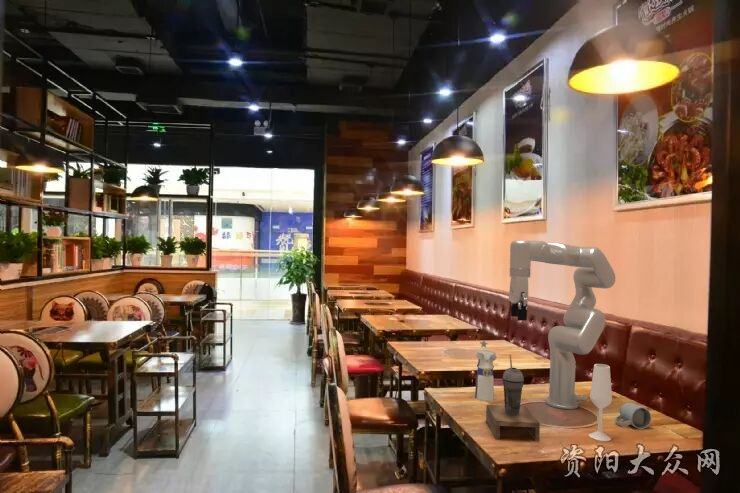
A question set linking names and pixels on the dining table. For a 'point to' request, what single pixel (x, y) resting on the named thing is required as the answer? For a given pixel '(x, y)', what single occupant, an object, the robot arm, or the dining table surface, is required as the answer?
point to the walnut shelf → (511, 420)
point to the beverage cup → (512, 389)
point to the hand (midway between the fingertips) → (518, 318)
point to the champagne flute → (601, 396)
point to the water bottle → (485, 374)
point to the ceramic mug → (634, 416)
